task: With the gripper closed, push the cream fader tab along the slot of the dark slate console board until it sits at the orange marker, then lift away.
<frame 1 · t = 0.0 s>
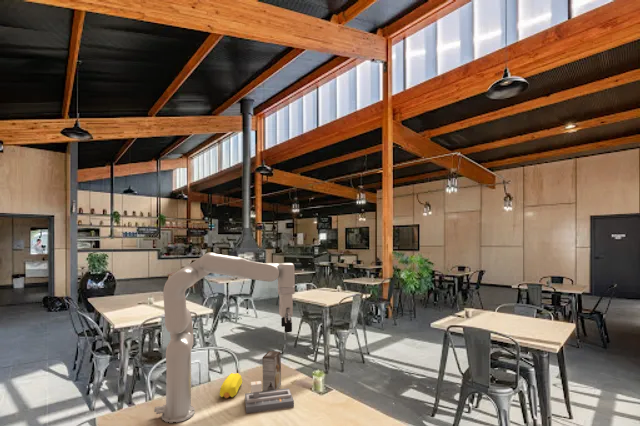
hand: (286, 329, 155), 31 cm above the table, tool pointing down, fingers open, 9 cm apart
coffee box: (272, 388, 166), on the table
yellow rounded capsule: (231, 392, 163), on the table
console: (268, 402, 151), on the table
fader tab: (256, 390, 150), point 6 cm above the table, slide at -5.5 cm
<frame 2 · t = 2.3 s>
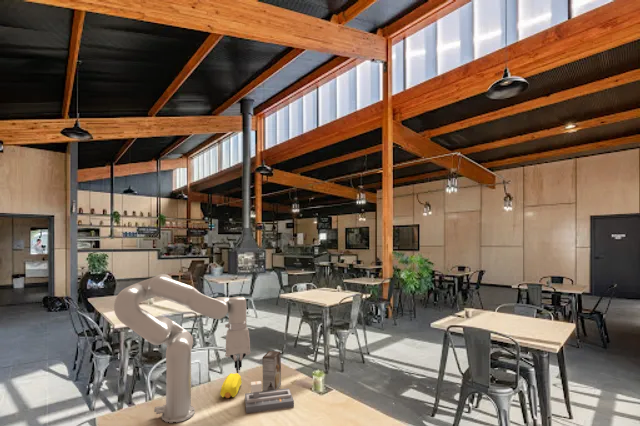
hand: (238, 369, 149), 16 cm above the table, tool pointing down, fingers closed
nothing on the table moved.
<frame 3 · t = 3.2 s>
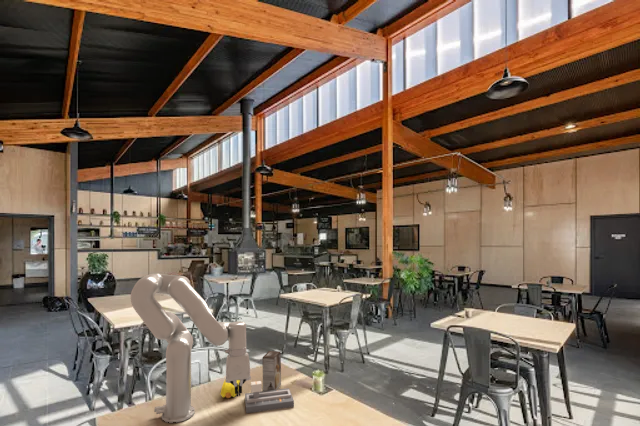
hand: (238, 394, 149), 5 cm above the table, tool pointing down, fingers closed
nothing on the table moved.
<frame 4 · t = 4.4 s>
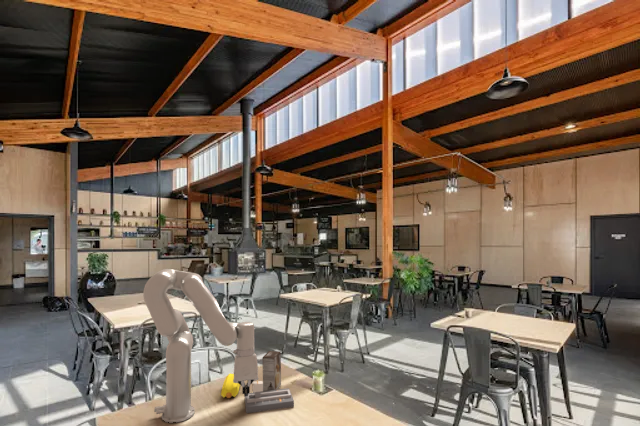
hand: (246, 395, 149), 4 cm above the table, tool pointing down, fingers closed
fader tab: (257, 390, 151), point 6 cm above the table, slide at -4.9 cm, touching gripper
everything else where it was.
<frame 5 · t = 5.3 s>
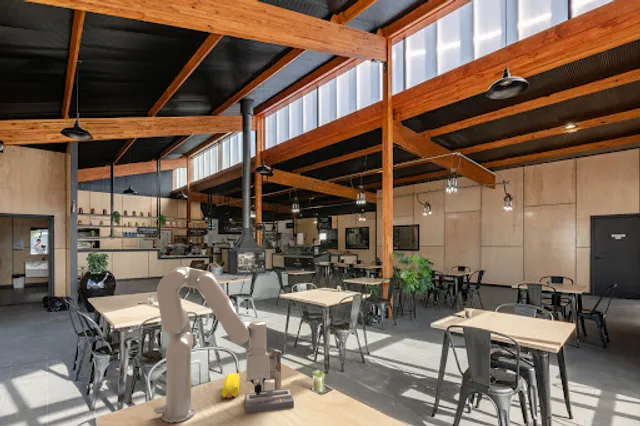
hand: (258, 393, 151), 4 cm above the table, tool pointing down, fingers closed
fader tab: (269, 388, 152), point 6 cm above the table, slide at 0.3 cm, touching gripper
everything else where it was.
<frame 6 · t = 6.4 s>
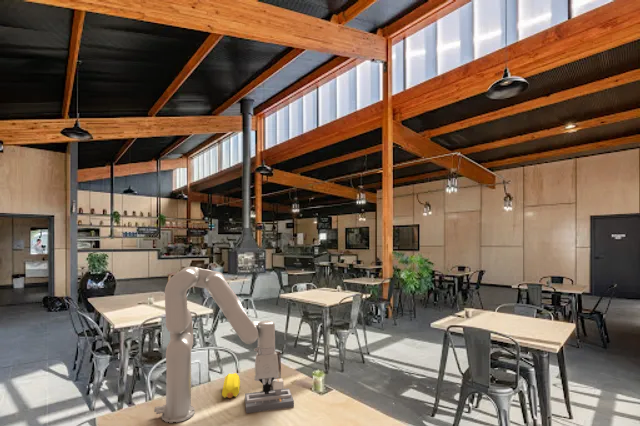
hand: (266, 392, 152), 4 cm above the table, tool pointing down, fingers closed
fader tab: (278, 387, 153), point 6 cm above the table, slide at 4.1 cm, touching gripper
everything else where it was.
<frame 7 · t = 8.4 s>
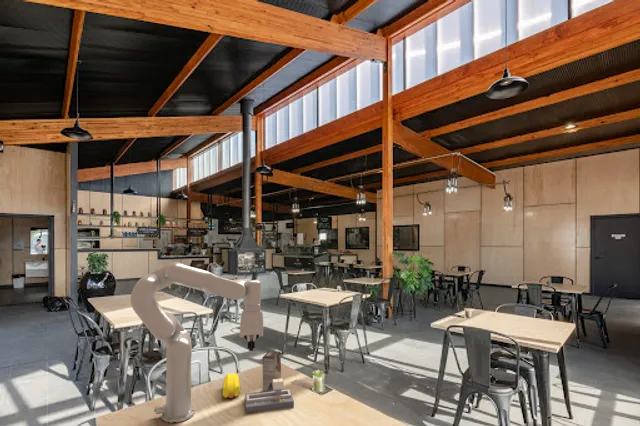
hand: (251, 349, 154), 22 cm above the table, tool pointing down, fingers closed
fader tab: (278, 387, 153), point 6 cm above the table, slide at 4.1 cm
everything else where it was.
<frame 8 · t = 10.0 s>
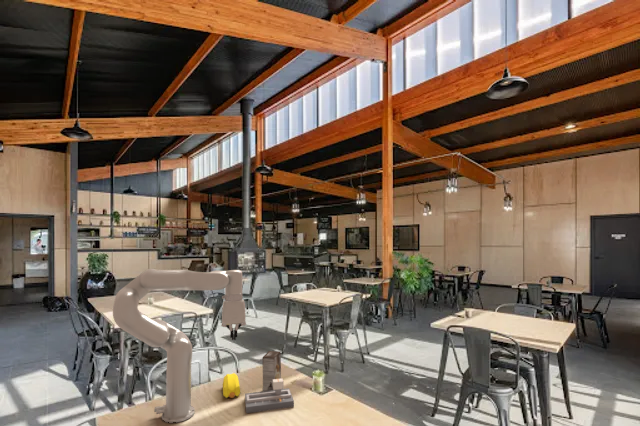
hand: (233, 339, 155), 27 cm above the table, tool pointing down, fingers closed
at the end: fader tab slide at 4.1 cm; fader tab touching nothing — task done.
